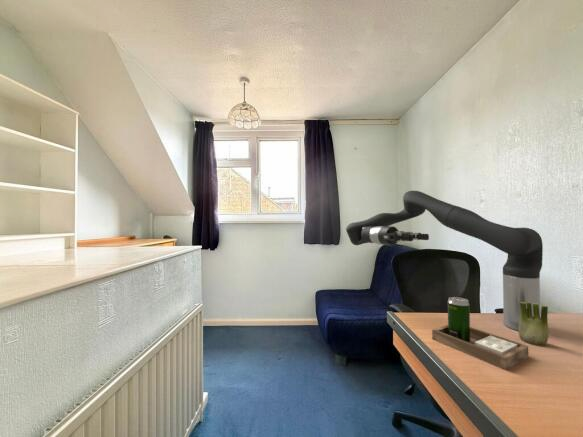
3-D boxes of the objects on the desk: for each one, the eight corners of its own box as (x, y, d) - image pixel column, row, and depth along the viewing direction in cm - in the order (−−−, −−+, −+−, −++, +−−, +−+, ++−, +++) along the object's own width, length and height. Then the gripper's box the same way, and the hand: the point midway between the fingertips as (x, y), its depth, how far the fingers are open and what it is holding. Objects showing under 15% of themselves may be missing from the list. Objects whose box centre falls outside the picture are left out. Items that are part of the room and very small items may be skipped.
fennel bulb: (550, 347, 72) (550, 304, 72) (541, 351, 70) (540, 307, 70) (525, 338, 77) (524, 299, 78) (515, 342, 76) (515, 301, 76)
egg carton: (490, 346, 71) (490, 332, 71) (517, 356, 66) (517, 341, 66) (475, 353, 68) (474, 339, 68) (502, 364, 62) (502, 349, 62)
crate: (455, 333, 82) (455, 322, 82) (528, 360, 66) (528, 346, 66) (432, 341, 76) (432, 330, 76) (505, 373, 60) (505, 358, 60)
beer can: (465, 346, 71) (464, 303, 71) (444, 339, 76) (444, 298, 76) (473, 341, 74) (472, 300, 74) (453, 334, 79) (452, 295, 79)
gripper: (370, 226, 101) (406, 227, 86) (395, 225, 107) (433, 226, 93) (371, 245, 101) (407, 249, 86) (396, 243, 107) (433, 247, 93)
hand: (420, 237), depth 90 cm, fingers open, 8 cm apart
